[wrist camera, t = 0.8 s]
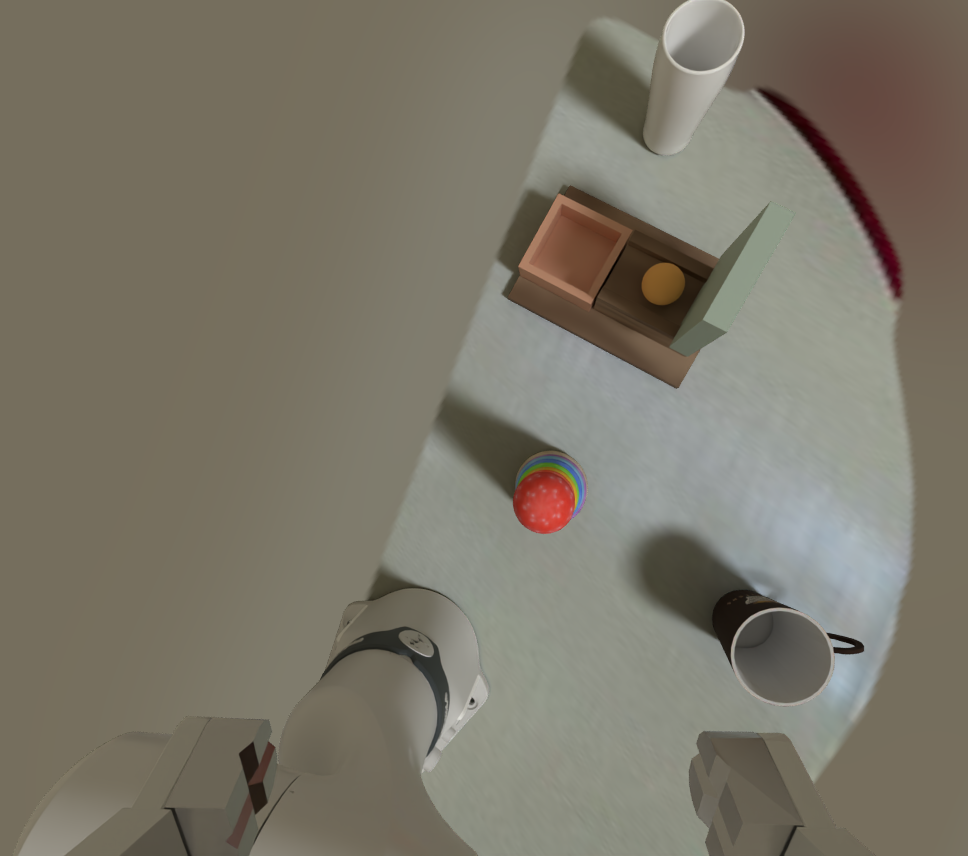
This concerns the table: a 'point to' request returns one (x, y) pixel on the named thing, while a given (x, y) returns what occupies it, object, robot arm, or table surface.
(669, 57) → the drinking glass
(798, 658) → the coffee mug
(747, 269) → the pale green panel
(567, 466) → the stacking toy
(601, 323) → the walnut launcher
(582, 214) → the terracotta cup
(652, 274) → the orange rubber ball
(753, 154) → the table surface
